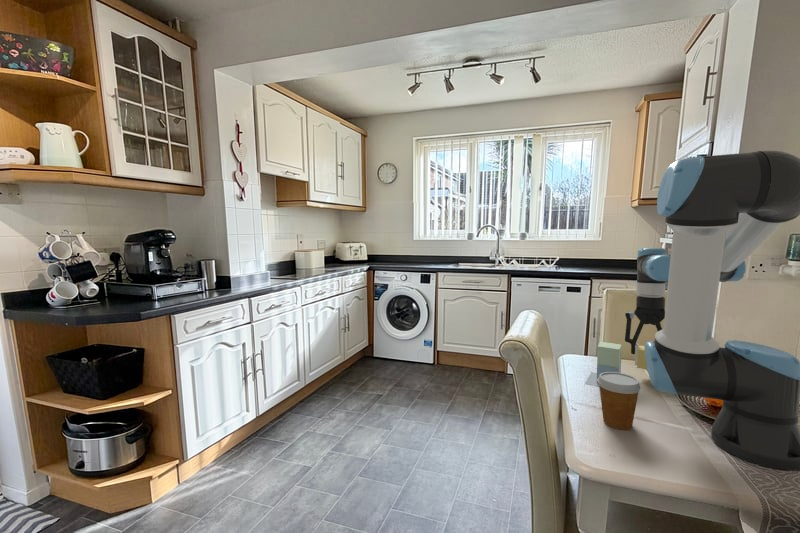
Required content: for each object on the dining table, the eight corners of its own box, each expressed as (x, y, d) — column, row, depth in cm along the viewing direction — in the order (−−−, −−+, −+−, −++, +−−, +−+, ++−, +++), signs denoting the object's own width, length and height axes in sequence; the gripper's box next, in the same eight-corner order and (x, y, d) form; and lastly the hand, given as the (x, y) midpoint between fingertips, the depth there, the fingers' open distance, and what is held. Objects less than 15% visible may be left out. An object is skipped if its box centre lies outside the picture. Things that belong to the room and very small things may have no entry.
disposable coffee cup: (595, 411, 96) (596, 369, 95) (636, 418, 92) (637, 374, 91) (597, 428, 88) (598, 382, 87) (643, 437, 84) (644, 388, 83)
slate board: (629, 395, 105) (629, 393, 105) (584, 386, 113) (584, 383, 112) (632, 382, 115) (632, 379, 115) (591, 374, 122) (591, 372, 122)
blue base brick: (618, 387, 109) (618, 368, 109) (596, 382, 113) (597, 364, 113) (620, 380, 114) (620, 362, 114) (599, 376, 118) (599, 359, 117)
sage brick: (619, 368, 109) (619, 349, 109) (597, 364, 113) (597, 346, 112) (621, 362, 114) (621, 344, 113) (600, 359, 118) (600, 341, 117)
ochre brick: (660, 371, 110) (660, 353, 110) (637, 367, 114) (637, 349, 114) (660, 366, 115) (660, 348, 115) (638, 362, 119) (638, 345, 118)
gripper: (687, 296, 110) (685, 368, 112) (617, 292, 122) (616, 357, 123) (689, 299, 104) (686, 375, 106) (614, 294, 116) (613, 363, 117)
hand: (648, 365), depth 114 cm, fingers closed on ochre brick, 6 cm apart
